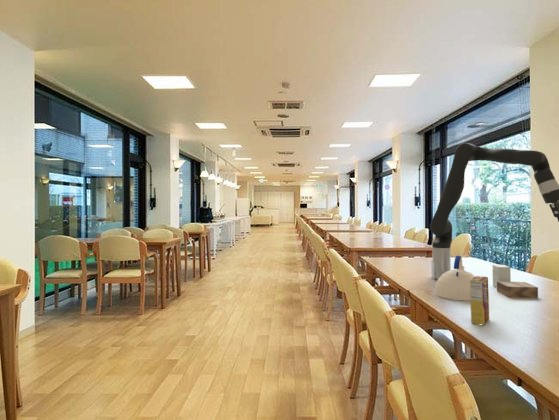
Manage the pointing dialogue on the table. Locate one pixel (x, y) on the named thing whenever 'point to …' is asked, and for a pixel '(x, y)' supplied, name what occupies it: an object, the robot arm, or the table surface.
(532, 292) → the walnut block
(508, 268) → the small box
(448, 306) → the table surface
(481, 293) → the candy box
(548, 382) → the table surface
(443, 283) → the kettle
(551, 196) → the robot arm
